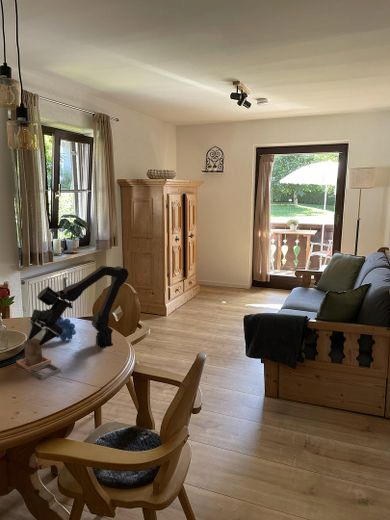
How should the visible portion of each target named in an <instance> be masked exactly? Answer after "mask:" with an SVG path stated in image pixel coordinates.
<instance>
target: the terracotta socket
mask: <svg viewBox="0 0 390 520" xmlns="http://www.w3.org/2000/svg"><path fill="white" fill-rule="evenodd" d="M42 360H44V361H42V363H39V364H36V365H33V366H29V365H27V364H26V363H24V362H25V357H24V358H21V359H18V360H16V364H17V363H18V364H17V365H19V366H20V367H21V368H24V369H25V370H26V371H29V372H30V370H31V369H34V368H36V367H39V366H42V365H45V364H48V363H51V364H52V359H50V358H48V357H46V356H45V355H43V354H42Z"/></svg>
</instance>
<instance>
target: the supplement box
mask: <svg viewBox="0 0 390 520" xmlns="http://www.w3.org/2000/svg"><path fill="white" fill-rule="evenodd" d="M30 321H31V320H30V318H29V319H28V320H27V324H28V325H27V329H28V335H29V334H30V331H31V328H32V325H31V322H30ZM41 328H42V327H41ZM45 328H47V327H45V326H44V327H43V329H42V330H41V331H40V332H39V333H38V334H37V335H36V336H34V337H33V338H32V339H34V338H36V339H38V340H40V341H41V339H42V338H43V336H44V334H45ZM47 329H49V328H47ZM50 341H51V340H49V341H48V342H50ZM48 342H46V343H48ZM46 343H44V344H43V345H42V346H44V345H45V344H46Z"/></svg>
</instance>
